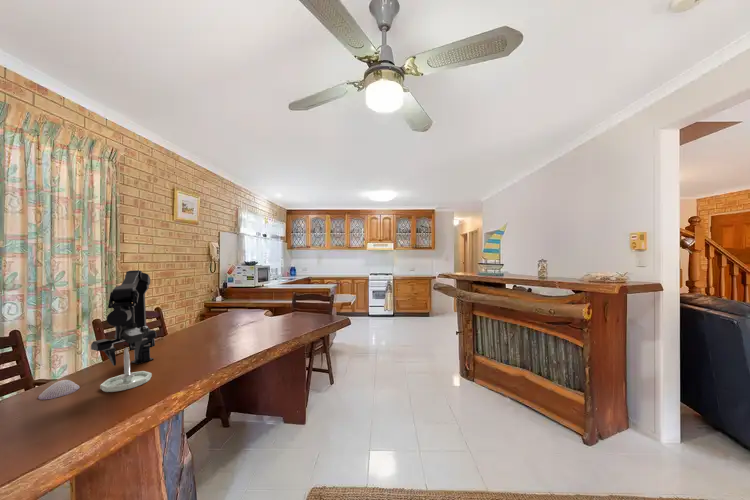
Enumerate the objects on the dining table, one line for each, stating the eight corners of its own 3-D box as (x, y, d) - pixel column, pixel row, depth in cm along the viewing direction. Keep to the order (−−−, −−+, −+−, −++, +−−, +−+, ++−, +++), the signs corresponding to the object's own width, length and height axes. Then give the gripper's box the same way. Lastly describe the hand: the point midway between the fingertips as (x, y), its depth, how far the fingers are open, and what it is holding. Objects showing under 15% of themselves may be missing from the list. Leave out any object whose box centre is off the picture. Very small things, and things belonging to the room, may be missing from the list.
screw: (136, 377, 119) (134, 382, 115) (120, 380, 116) (117, 385, 112) (135, 344, 119) (133, 347, 115) (119, 346, 116) (116, 350, 112)
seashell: (84, 376, 117) (74, 379, 108) (83, 391, 116) (73, 395, 107) (47, 381, 112) (33, 385, 103) (45, 397, 111) (32, 403, 102)
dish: (94, 387, 112) (93, 383, 112) (138, 373, 125) (138, 369, 125) (113, 394, 106) (113, 390, 106) (158, 378, 119) (158, 374, 119)
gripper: (104, 328, 104) (106, 374, 104) (163, 317, 120) (164, 356, 120) (89, 326, 109) (91, 369, 109) (148, 315, 125) (149, 353, 125)
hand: (126, 362), depth 116 cm, fingers open, 7 cm apart
